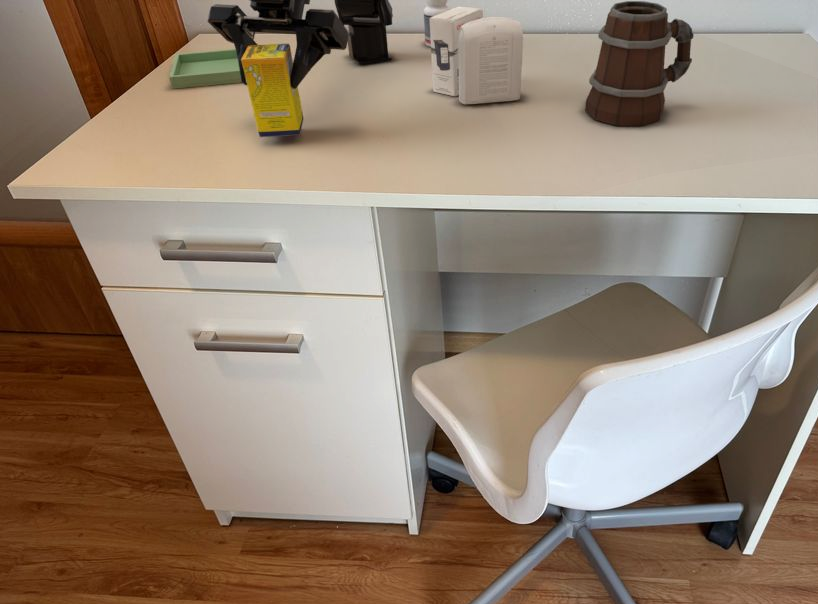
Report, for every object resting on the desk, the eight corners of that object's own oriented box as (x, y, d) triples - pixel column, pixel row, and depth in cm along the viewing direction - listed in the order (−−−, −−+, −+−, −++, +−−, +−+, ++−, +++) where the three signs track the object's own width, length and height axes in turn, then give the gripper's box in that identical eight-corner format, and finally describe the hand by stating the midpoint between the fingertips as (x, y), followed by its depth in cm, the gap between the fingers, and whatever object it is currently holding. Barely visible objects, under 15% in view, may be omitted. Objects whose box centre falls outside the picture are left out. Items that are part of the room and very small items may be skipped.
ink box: (460, 77, 118) (458, 4, 110) (483, 82, 116) (484, 8, 108) (431, 92, 113) (427, 16, 105) (455, 97, 111) (454, 20, 103)
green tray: (251, 58, 128) (249, 47, 127) (251, 81, 118) (249, 69, 117) (178, 65, 126) (175, 53, 125) (172, 89, 116) (169, 77, 115)
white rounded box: (516, 92, 112) (519, 11, 104) (524, 101, 109) (527, 19, 101) (456, 98, 110) (454, 17, 102) (462, 107, 107) (460, 24, 99)
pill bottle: (448, 48, 131) (446, -2, 125) (422, 47, 132) (419, -3, 126) (454, 40, 135) (452, -9, 129) (428, 39, 136) (426, -9, 130)
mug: (605, 131, 99) (618, 21, 89) (574, 102, 108) (584, 0, 98) (701, 119, 102) (724, 12, 92) (663, 92, 111) (681, -8, 101)
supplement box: (264, 121, 101) (246, 44, 93) (304, 119, 101) (290, 42, 94) (258, 137, 96) (239, 58, 89) (300, 135, 96) (285, 56, 89)
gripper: (194, -63, 88) (173, 52, 87) (326, -60, 84) (305, 60, 83) (238, -12, 99) (220, 91, 98) (357, -6, 95) (339, 100, 94)
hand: (268, 85), depth 93 cm, fingers closed on supplement box, 7 cm apart
